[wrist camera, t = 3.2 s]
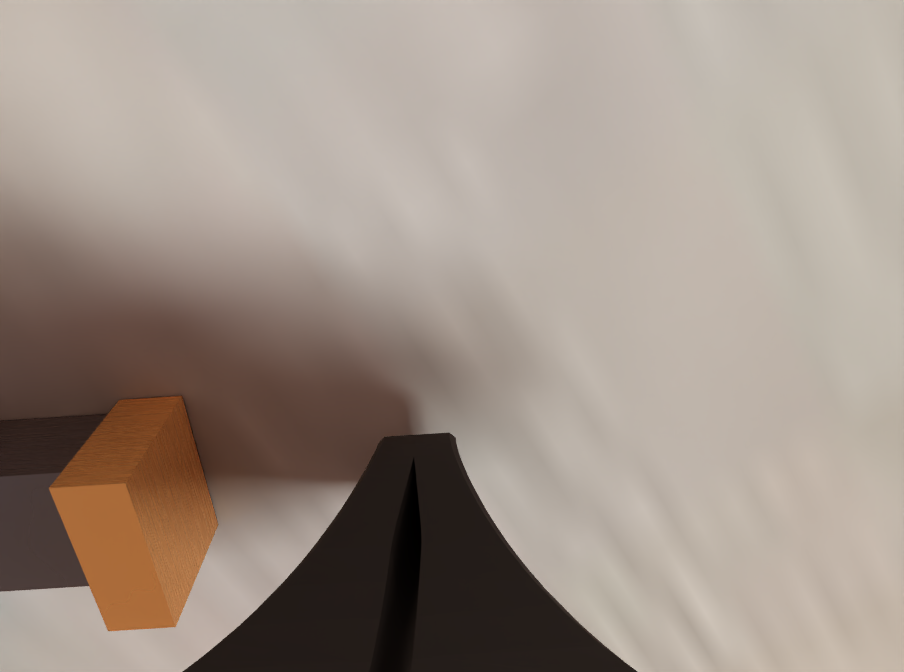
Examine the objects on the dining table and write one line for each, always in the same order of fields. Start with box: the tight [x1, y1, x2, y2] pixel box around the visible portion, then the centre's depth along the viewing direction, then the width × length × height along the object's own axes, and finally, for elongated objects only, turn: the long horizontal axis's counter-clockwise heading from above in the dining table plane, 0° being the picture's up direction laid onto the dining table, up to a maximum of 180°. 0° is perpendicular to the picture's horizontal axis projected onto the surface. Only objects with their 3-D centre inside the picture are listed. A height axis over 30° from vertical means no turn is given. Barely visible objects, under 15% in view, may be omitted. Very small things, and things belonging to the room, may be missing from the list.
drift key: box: [0, 396, 218, 631], centre depth 12 cm, size 5×3×3 cm
